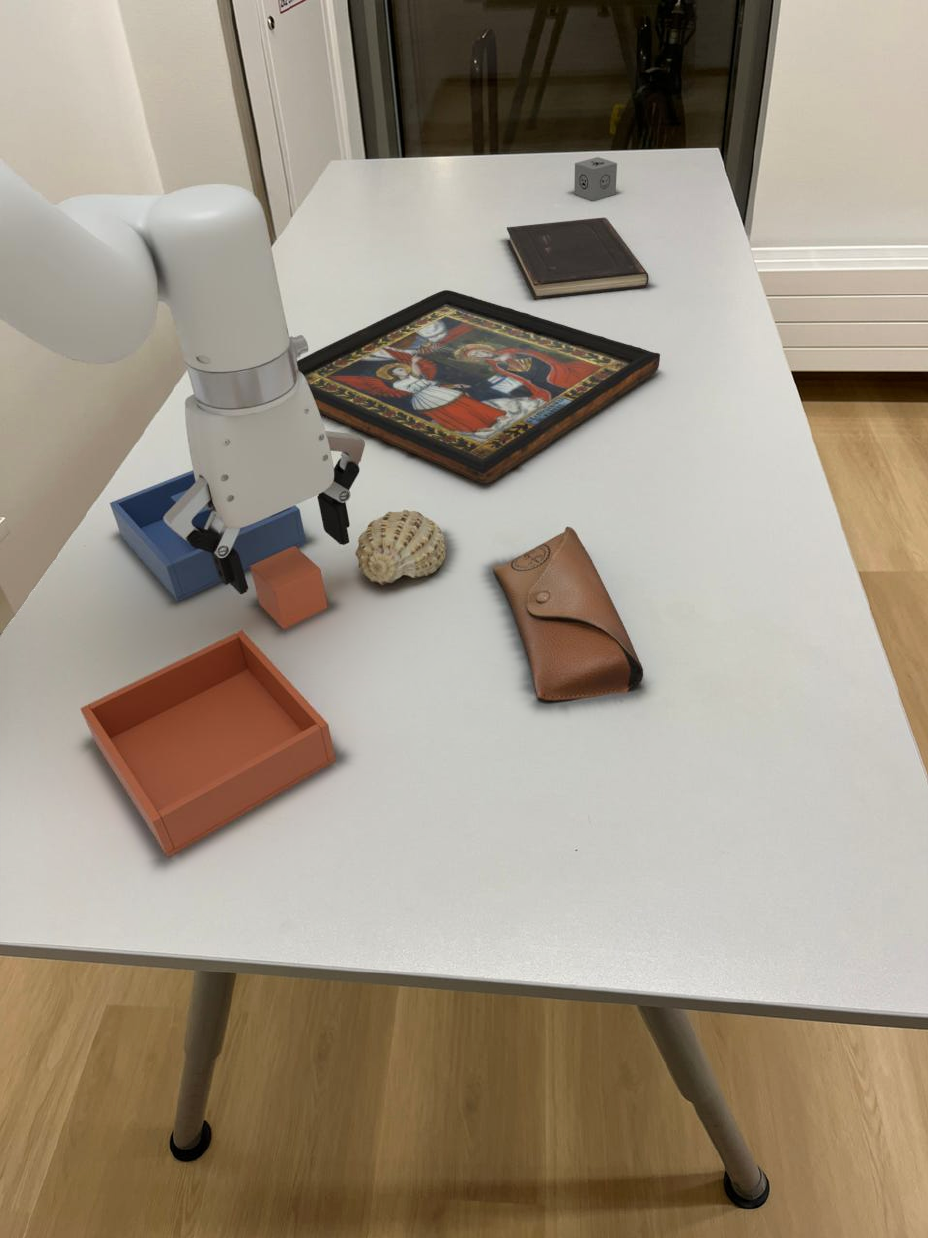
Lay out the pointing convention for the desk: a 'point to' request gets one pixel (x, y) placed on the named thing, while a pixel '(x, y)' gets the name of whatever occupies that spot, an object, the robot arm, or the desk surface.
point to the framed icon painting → (470, 381)
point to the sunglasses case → (568, 622)
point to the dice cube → (595, 178)
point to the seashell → (400, 547)
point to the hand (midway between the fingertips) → (288, 560)
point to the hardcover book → (574, 258)
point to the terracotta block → (289, 587)
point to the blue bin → (177, 557)
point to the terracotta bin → (208, 739)
